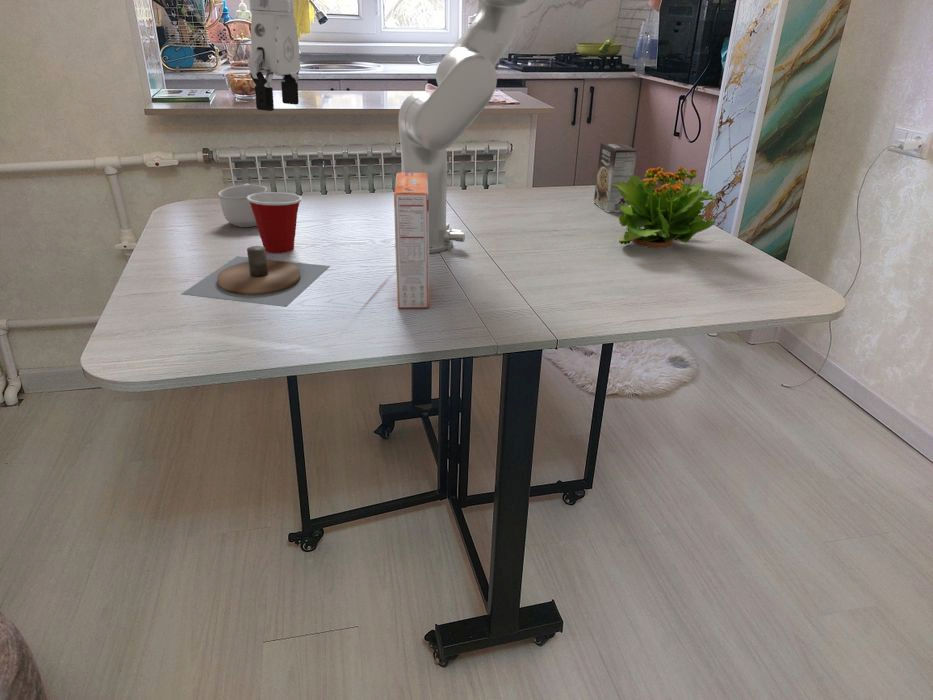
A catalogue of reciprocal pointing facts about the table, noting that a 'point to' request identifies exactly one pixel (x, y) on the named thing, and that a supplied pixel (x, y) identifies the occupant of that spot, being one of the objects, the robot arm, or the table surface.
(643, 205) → the potted flower
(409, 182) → the cracker box
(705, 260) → the table surface
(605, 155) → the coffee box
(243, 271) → the lid
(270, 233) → the plastic cup
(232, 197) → the teacup
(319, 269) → the mat
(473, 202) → the table surface
